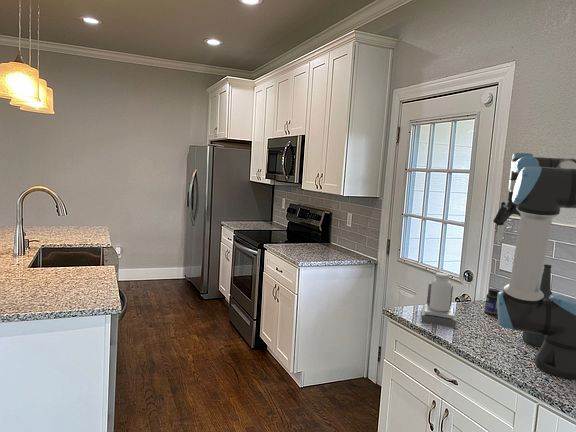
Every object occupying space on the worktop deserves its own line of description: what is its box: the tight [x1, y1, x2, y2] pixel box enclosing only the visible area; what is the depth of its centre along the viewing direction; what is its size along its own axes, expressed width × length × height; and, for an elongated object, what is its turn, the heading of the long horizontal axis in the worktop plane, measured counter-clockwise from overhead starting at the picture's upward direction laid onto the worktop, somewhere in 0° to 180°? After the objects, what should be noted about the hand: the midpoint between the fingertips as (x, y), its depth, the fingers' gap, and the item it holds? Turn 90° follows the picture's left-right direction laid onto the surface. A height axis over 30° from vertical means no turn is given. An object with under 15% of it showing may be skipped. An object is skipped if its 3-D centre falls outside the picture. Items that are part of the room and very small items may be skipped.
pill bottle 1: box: [430, 272, 453, 312], centre depth 182 cm, size 8×8×15 cm
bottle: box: [522, 263, 553, 348], centre depth 163 cm, size 10×10×30 cm
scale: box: [421, 281, 457, 329], centre depth 185 cm, size 18×13×13 cm
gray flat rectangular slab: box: [424, 302, 454, 319], centre depth 184 cm, size 14×11×1 cm
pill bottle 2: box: [484, 288, 501, 316], centre depth 198 cm, size 6×6×11 cm
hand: (512, 243), depth 179 cm, fingers open, 13 cm apart
